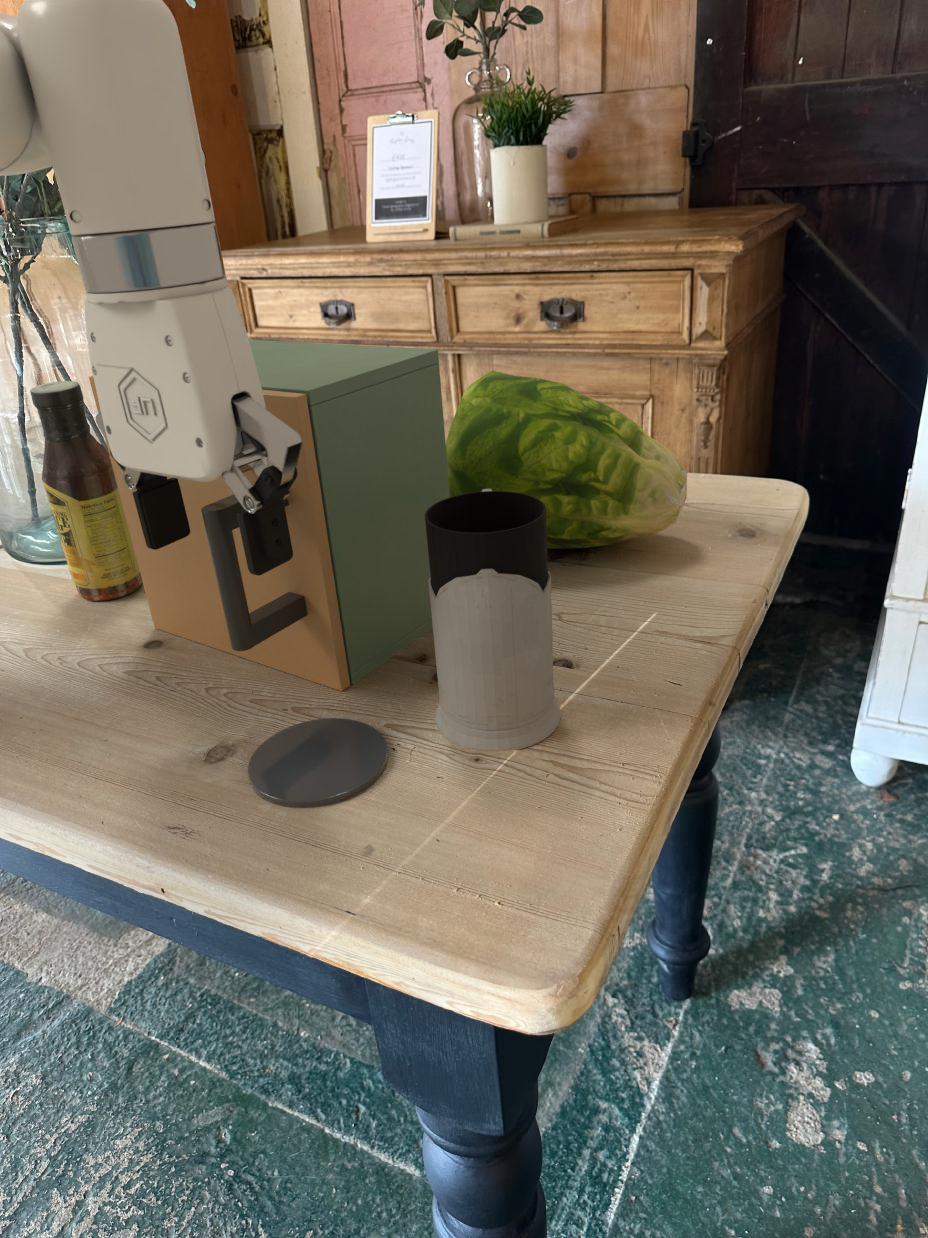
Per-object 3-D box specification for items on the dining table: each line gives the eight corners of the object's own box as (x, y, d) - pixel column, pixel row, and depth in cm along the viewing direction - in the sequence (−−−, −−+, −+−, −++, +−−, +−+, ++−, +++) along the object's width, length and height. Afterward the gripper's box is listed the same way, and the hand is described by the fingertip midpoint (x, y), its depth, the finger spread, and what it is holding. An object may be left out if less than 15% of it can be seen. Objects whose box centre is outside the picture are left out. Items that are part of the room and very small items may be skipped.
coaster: (246, 820, 52) (244, 812, 51) (252, 736, 60) (250, 729, 59) (395, 795, 53) (394, 787, 53) (381, 716, 61) (380, 709, 60)
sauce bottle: (78, 585, 86) (17, 382, 76) (143, 572, 87) (91, 373, 78) (77, 611, 80) (11, 396, 71) (147, 597, 82) (91, 385, 73)
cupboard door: (280, 735, 59) (217, 421, 49) (91, 660, 71) (10, 395, 61) (350, 685, 64) (306, 393, 55) (163, 623, 76) (99, 373, 66)
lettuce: (659, 607, 86) (683, 536, 71) (436, 559, 90) (413, 482, 75) (690, 465, 91) (718, 370, 76) (477, 426, 96) (464, 328, 80)
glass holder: (431, 755, 56) (408, 541, 49) (441, 649, 69) (425, 467, 62) (566, 749, 56) (561, 532, 49) (551, 643, 68) (546, 459, 62)
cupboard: (353, 685, 65) (308, 390, 55) (166, 623, 76) (101, 371, 66) (459, 610, 75) (438, 349, 65) (280, 565, 86) (238, 338, 76)
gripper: (4, 277, 49) (87, 553, 57) (203, 272, 40) (270, 603, 48) (116, 261, 55) (178, 516, 62) (315, 254, 45) (359, 554, 53)
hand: (218, 553), depth 55 cm, fingers open, 9 cm apart
